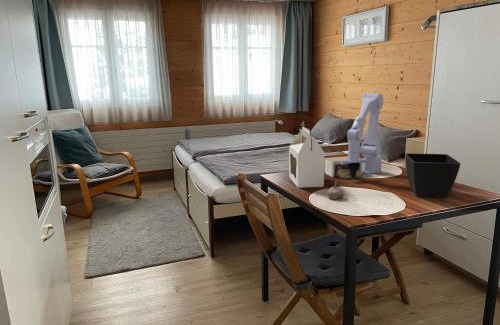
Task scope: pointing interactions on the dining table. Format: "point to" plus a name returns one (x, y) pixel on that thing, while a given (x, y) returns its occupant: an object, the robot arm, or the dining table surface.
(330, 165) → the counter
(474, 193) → the dining table surface
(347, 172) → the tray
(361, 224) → the dining table surface
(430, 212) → the dining table surface
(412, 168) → the flower pot
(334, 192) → the garlic bulb
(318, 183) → the gable box
